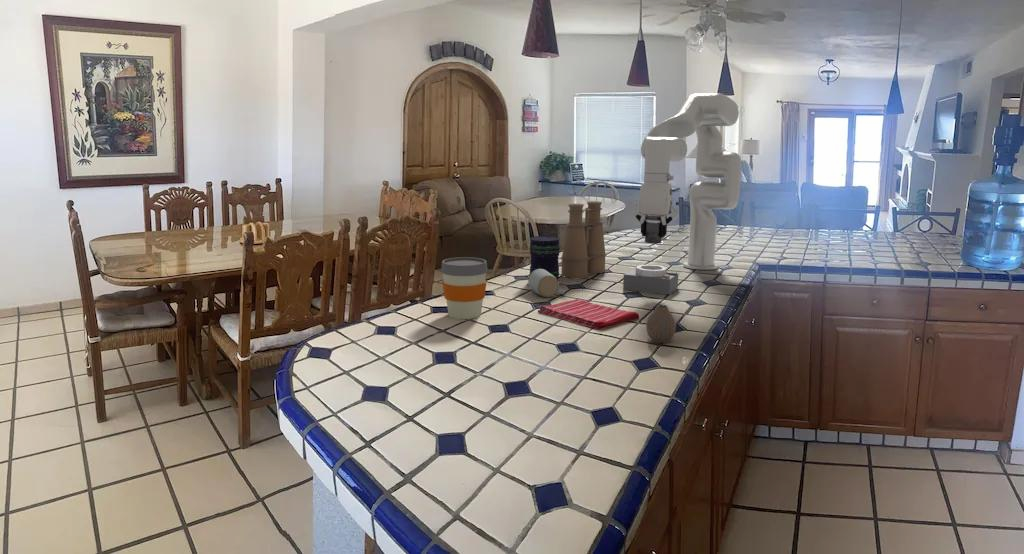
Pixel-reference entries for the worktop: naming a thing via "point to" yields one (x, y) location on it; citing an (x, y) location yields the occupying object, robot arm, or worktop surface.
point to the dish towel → (588, 314)
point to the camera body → (651, 279)
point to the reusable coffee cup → (464, 286)
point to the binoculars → (584, 242)
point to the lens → (653, 229)
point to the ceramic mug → (544, 283)
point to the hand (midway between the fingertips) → (653, 236)
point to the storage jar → (545, 254)
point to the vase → (661, 325)
